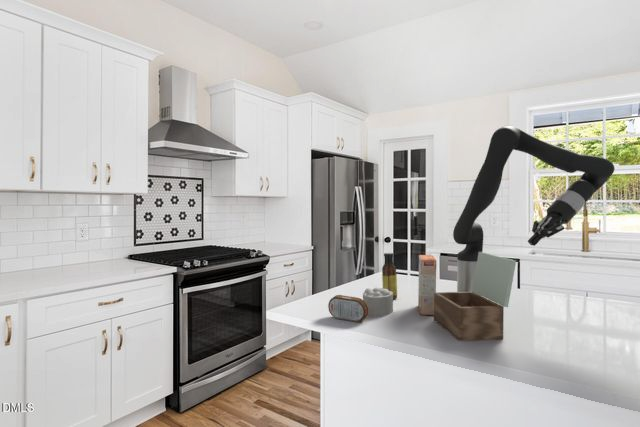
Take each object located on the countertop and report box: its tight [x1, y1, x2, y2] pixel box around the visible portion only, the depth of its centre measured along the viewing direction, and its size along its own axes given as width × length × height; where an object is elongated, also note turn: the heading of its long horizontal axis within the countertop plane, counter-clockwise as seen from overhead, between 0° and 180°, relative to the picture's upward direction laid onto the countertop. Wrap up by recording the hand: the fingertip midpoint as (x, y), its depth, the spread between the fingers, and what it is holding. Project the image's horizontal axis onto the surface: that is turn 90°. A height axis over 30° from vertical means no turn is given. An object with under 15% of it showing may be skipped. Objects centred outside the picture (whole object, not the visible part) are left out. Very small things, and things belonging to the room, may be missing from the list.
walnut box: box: [433, 291, 505, 342], centre depth 127 cm, size 14×20×10 cm
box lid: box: [472, 251, 517, 308], centre depth 127 cm, size 14×21×2 cm
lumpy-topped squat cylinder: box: [362, 287, 394, 318], centre depth 148 cm, size 10×13×9 cm
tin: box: [327, 294, 368, 323], centre depth 138 cm, size 15×3×8 cm, turn 59°
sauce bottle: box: [381, 252, 398, 300], centre depth 168 cm, size 6×6×20 cm
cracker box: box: [417, 254, 437, 316], centre depth 149 cm, size 14×6×21 cm, turn 168°
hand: (530, 243), depth 128 cm, fingers closed
